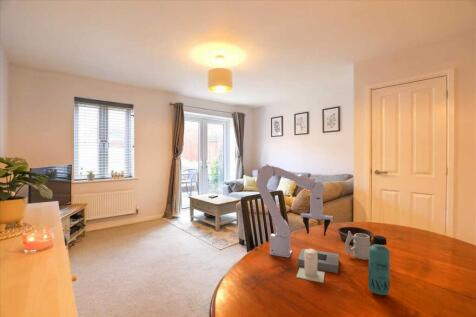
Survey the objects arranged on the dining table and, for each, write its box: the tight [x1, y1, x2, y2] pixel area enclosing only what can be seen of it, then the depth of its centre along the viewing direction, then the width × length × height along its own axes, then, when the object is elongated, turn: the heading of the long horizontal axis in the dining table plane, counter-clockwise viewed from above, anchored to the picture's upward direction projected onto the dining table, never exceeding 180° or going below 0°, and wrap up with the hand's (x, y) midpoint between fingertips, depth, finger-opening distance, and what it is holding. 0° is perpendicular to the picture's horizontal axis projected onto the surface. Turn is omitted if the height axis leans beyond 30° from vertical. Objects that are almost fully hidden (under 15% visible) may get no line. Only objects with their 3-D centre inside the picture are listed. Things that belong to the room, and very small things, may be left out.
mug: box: [344, 231, 371, 261], centre depth 112 cm, size 8×12×12 cm, turn 93°
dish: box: [337, 226, 375, 246], centre depth 133 cm, size 17×22×5 cm
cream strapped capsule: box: [303, 248, 318, 277], centre depth 95 cm, size 7×5×9 cm
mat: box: [295, 267, 326, 284], centre depth 96 cm, size 10×8×1 cm
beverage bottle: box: [367, 235, 391, 296], centre depth 83 cm, size 6×7×20 cm
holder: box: [297, 248, 340, 274], centre depth 106 cm, size 16×12×3 cm
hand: (316, 234), depth 116 cm, fingers open, 7 cm apart
